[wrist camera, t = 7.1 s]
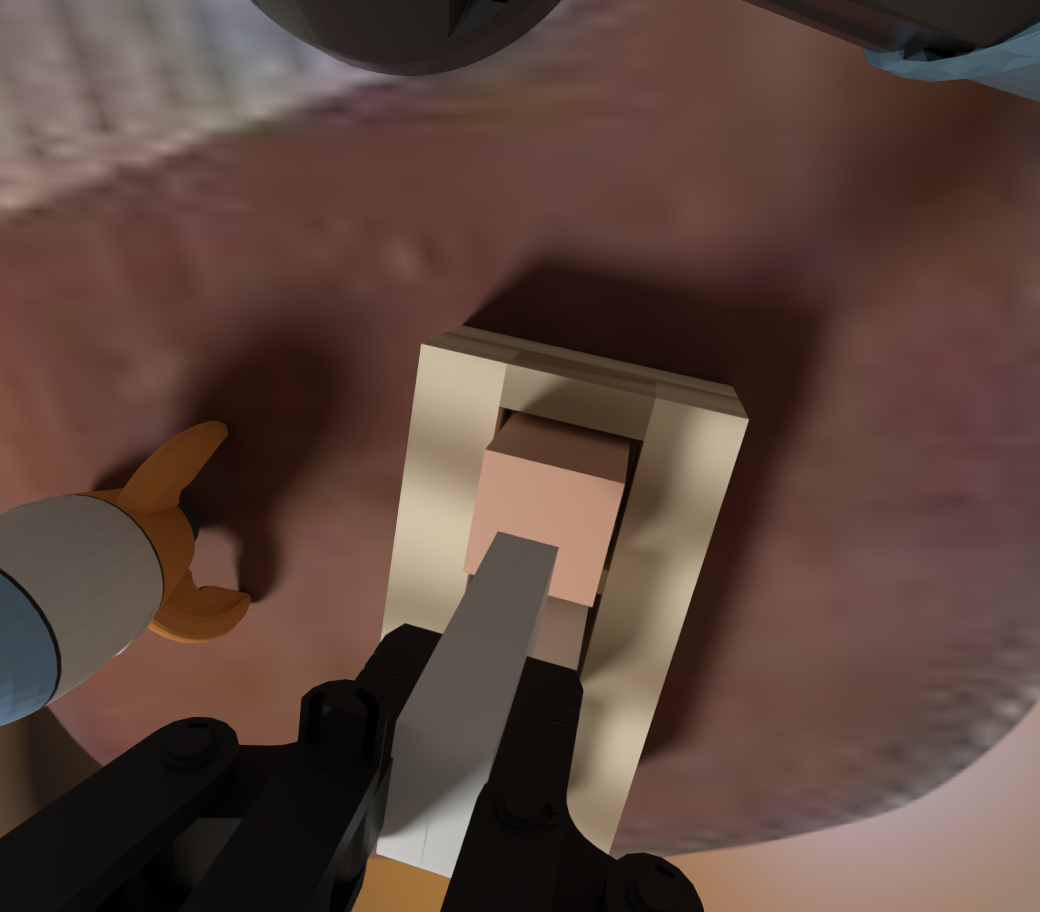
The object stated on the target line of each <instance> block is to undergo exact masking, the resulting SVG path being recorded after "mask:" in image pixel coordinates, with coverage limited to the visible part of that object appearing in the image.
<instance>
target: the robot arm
mask: <svg viewBox="0 0 1040 912" xmlns="http://www.w3.org/2000/svg"><path fill="white" fill-rule="evenodd" d="M251 1H252V2H253V3H254V4H255V5H256V6H257V7H258V8H259V9H260V10H261V11H262V12H263V13H264V14H266V15H267V16H268V17H269V18H270V19H271V20H273V21H274V22H275V23H277V24H278V25H279V26H281V27H282V28H283V29H285V30H286V31H287V32H289V33H291V34H292V35H294V36H295V37H297V38H299V39H300V40H302V41H304V42H306V43H307V44H309V45H311V46H313V47H315V48H317V49H318V50H320V51H322V52H324V53H326V54H328V55H329V56H331V57H333V58H335V59H337V60H339V61H342V62H344V63H347V64H349V65H352V66H355V67H358V68H361V69H364V70H368V71H372V72H377V73H382V74H389V75H401V76H417V75H429V74H437V73H442V72H446V71H451V70H455V69H458V68H461V67H464V66H467V65H470V64H472V63H475V62H477V61H480V60H482V59H484V58H486V57H488V56H490V55H492V54H494V53H496V52H498V51H499V50H501V49H503V48H504V47H506V46H507V45H509V44H511V43H512V42H513V41H515V40H516V39H518V38H519V37H520V36H522V35H523V34H524V33H526V32H527V31H528V30H529V29H530V28H532V27H533V26H534V25H535V24H536V23H537V22H538V21H540V20H541V19H542V18H543V17H544V16H545V15H546V14H547V13H548V12H549V11H550V10H551V9H552V7H553V6H554V5H555V4H556V3H557V2H558V1H559V0H251ZM743 1H746V2H748V3H751V4H753V5H756V6H758V7H761V8H763V9H766V10H769V11H771V12H774V13H776V14H779V15H781V16H784V17H787V18H789V19H792V20H794V21H797V22H799V23H802V24H804V25H807V26H810V27H812V28H815V29H817V30H820V31H822V32H825V33H827V34H830V35H833V36H835V37H838V38H840V39H843V40H845V41H848V42H851V43H853V44H856V45H858V46H861V47H862V49H863V52H864V54H865V56H866V58H867V60H868V63H869V64H871V65H873V66H875V67H877V68H880V69H883V70H885V71H888V72H890V73H892V74H895V75H897V76H900V77H902V78H908V79H916V80H924V81H931V82H935V81H945V80H955V79H967V80H971V81H974V82H977V83H980V84H983V85H986V86H990V87H993V88H996V89H999V90H1002V91H1005V92H1009V93H1012V94H1015V95H1018V96H1021V97H1024V98H1028V99H1031V100H1034V101H1037V102H1040V0H743ZM558 549H559V547H557V546H553V545H549V544H545V543H541V542H538V541H534V540H530V539H526V538H522V537H519V536H515V535H511V534H507V533H503V532H500V531H498V532H497V534H496V535H495V537H494V539H493V541H492V543H491V545H490V547H489V549H488V550H487V552H486V554H485V556H484V558H483V560H482V562H481V564H480V565H479V567H478V569H477V571H476V573H475V575H474V577H473V579H472V580H471V582H470V584H469V586H468V588H467V590H466V592H465V594H464V595H463V597H462V599H461V601H460V603H459V605H458V607H457V609H456V610H455V612H454V614H453V616H452V618H451V620H450V622H449V624H448V625H447V627H446V629H445V631H444V633H443V634H442V633H438V632H435V631H431V630H428V629H424V628H421V627H417V626H414V625H410V624H407V623H404V624H403V625H401V626H399V627H398V628H396V629H394V630H393V631H391V632H389V633H388V634H386V635H385V636H384V638H383V639H382V641H381V642H380V644H379V645H378V647H377V648H376V650H375V651H374V654H373V655H372V656H371V657H370V659H369V660H368V662H367V663H366V664H365V667H364V669H362V670H361V672H360V673H359V675H358V676H357V678H356V679H355V681H353V680H346V679H344V680H336V681H328V682H326V683H323V684H321V685H318V686H316V687H314V688H312V689H311V690H310V691H309V692H308V693H306V694H305V695H304V696H303V697H302V699H301V711H300V722H299V734H298V741H297V742H294V743H290V744H285V745H273V746H264V745H239V743H238V739H237V735H236V732H235V731H234V730H233V729H232V728H231V727H230V726H229V725H228V724H227V723H225V722H222V721H219V720H217V719H214V718H209V717H191V718H187V719H182V720H178V721H174V722H172V723H170V724H168V725H166V726H164V727H162V728H160V729H158V730H157V731H155V732H154V733H152V734H151V735H149V736H148V737H146V738H145V739H144V740H142V741H141V742H139V743H138V744H136V745H135V746H133V747H132V748H130V749H129V750H128V751H126V752H125V753H123V754H122V755H120V756H119V757H117V758H116V759H115V760H113V761H112V762H110V763H109V764H107V765H106V766H104V767H103V768H101V769H100V770H99V771H97V772H96V773H94V774H93V775H91V776H90V777H88V778H87V779H85V780H84V781H83V782H81V783H80V784H78V785H77V786H75V787H74V788H73V789H71V790H70V791H68V792H67V793H65V794H64V795H62V796H61V797H59V798H58V799H56V800H55V801H54V802H52V803H51V804H49V805H48V806H46V807H45V808H44V809H42V810H41V811H39V812H38V813H36V814H35V815H33V816H32V817H30V818H29V819H27V820H26V821H25V822H23V823H22V824H20V825H19V826H17V827H16V828H14V829H13V830H12V831H10V832H9V833H7V834H6V835H4V836H3V837H1V838H0V912H351V911H352V908H353V906H354V904H355V902H356V899H357V897H358V895H359V892H360V890H361V888H362V885H363V881H364V876H365V872H366V865H367V860H368V857H369V855H370V853H371V851H372V849H373V847H374V844H375V842H376V840H377V838H378V836H379V838H378V845H377V852H376V853H377V854H380V855H383V856H386V857H389V858H392V859H395V860H398V861H401V862H404V863H407V864H410V865H413V866H416V867H419V868H422V869H425V870H428V871H431V872H434V873H437V874H440V875H443V876H446V877H449V878H451V880H450V883H449V886H448V889H447V892H446V895H445V898H444V902H443V904H442V907H441V911H440V912H704V909H703V905H702V903H701V900H700V898H699V896H698V894H697V892H696V890H695V888H694V885H693V884H692V883H691V882H690V881H689V879H688V878H687V877H686V876H685V875H684V874H683V873H682V871H681V870H680V869H679V868H677V867H676V866H674V865H673V864H671V863H669V862H668V861H666V860H665V859H663V858H662V857H658V856H654V855H651V854H647V853H633V854H626V855H625V856H623V857H622V858H620V859H618V860H616V859H614V858H613V857H611V856H610V855H608V854H607V853H605V852H604V851H602V850H600V849H599V848H597V847H596V846H595V845H594V844H592V843H591V842H590V841H589V840H588V839H586V838H585V837H584V836H583V834H582V833H581V832H580V831H579V830H578V828H577V827H576V826H575V824H574V822H573V820H572V818H571V816H570V814H569V810H568V806H567V789H568V783H569V777H570V770H571V764H572V758H573V752H574V746H575V740H576V734H577V728H578V722H579V716H580V710H581V704H582V698H583V692H584V690H583V687H582V684H581V682H580V679H579V676H578V674H577V671H576V670H574V669H571V668H567V667H564V666H560V665H557V664H553V663H550V662H546V661H543V660H539V659H536V658H532V656H533V653H534V649H535V646H536V643H537V639H538V634H539V630H540V626H541V622H542V617H543V613H544V609H545V605H546V600H547V596H548V592H549V588H550V583H551V579H552V575H553V570H554V566H555V562H556V558H557V553H558Z"/></svg>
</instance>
